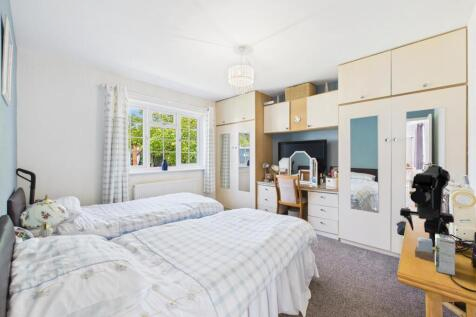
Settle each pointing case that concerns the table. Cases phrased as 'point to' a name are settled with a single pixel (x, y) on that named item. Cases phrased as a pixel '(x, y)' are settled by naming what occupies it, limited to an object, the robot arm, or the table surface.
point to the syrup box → (445, 254)
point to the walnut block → (425, 254)
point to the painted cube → (425, 245)
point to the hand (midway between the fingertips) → (425, 232)
